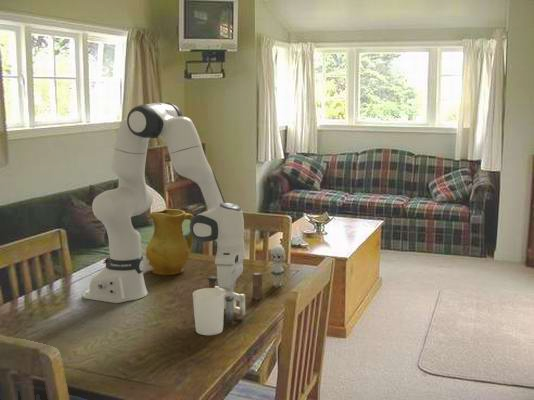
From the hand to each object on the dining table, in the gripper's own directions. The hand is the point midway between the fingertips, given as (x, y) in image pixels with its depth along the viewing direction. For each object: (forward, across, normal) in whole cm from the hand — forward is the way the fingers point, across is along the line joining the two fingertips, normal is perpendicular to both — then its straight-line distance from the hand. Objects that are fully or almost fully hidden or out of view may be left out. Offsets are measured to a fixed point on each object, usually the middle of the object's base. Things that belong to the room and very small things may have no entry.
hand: (231, 293), depth 216 cm
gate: (+5, +2, 0) cm, 5 cm away
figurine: (+6, -32, +10) cm, 34 cm away
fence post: (+6, -15, +6) cm, 17 cm away
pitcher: (+6, -42, -36) cm, 56 cm away
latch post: (+6, +10, +2) cm, 11 cm away
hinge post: (+6, -2, -7) cm, 10 cm away
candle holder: (+6, +18, -3) cm, 19 cm away
